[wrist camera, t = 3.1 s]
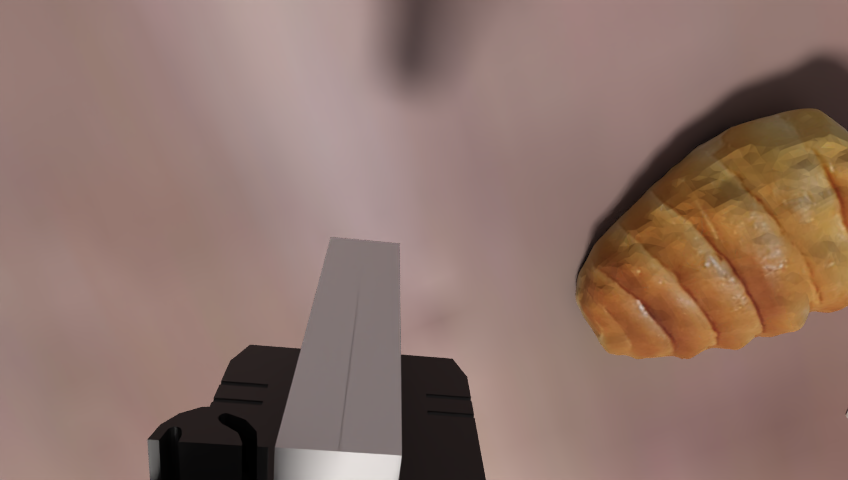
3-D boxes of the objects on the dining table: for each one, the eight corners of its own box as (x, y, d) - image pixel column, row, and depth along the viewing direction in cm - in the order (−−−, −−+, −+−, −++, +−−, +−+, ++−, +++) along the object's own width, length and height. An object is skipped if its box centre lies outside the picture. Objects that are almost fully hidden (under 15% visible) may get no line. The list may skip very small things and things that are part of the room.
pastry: (624, 372, 23) (665, 444, 19) (530, 239, 21) (557, 292, 17) (863, 235, 21) (957, 286, 17) (790, 71, 19) (880, 92, 15)
